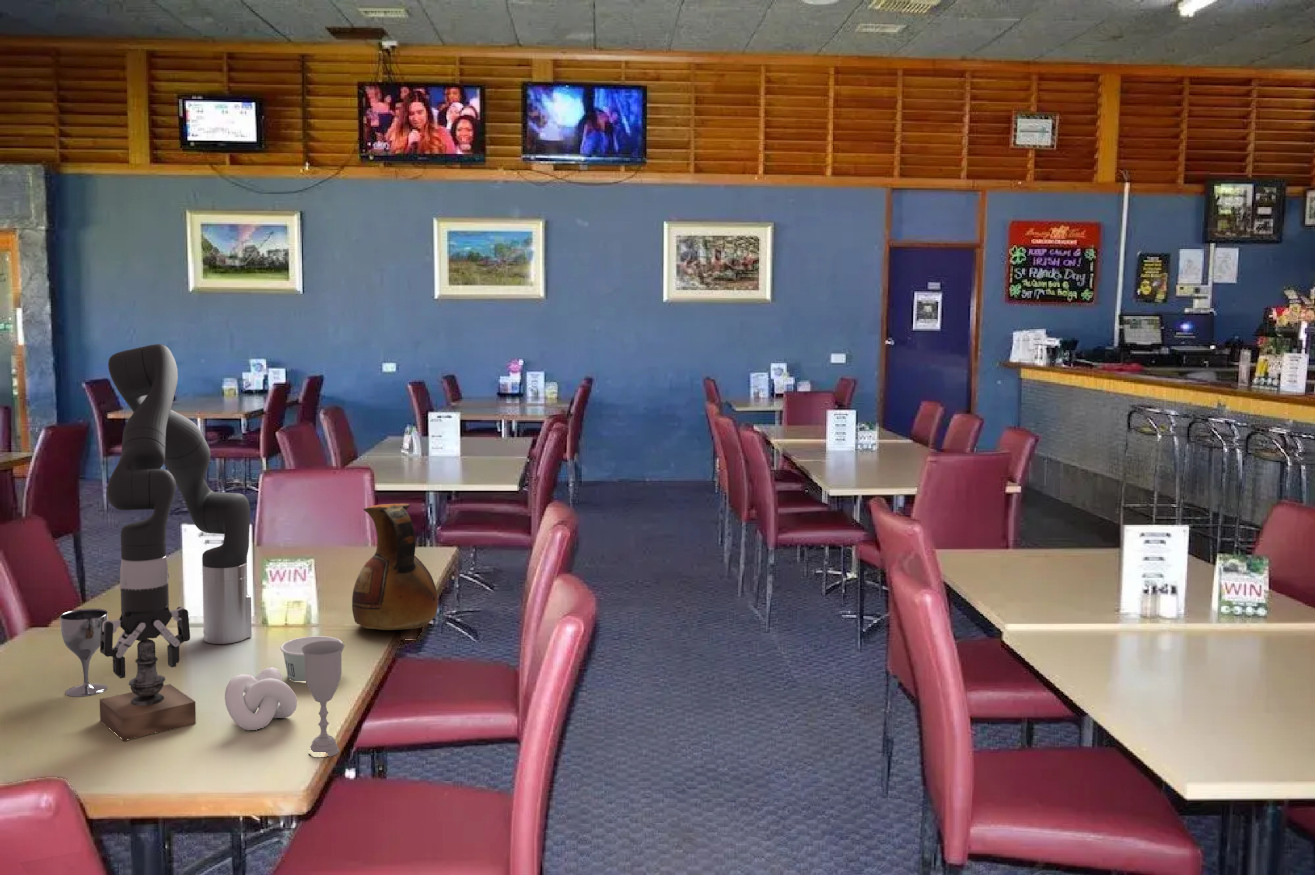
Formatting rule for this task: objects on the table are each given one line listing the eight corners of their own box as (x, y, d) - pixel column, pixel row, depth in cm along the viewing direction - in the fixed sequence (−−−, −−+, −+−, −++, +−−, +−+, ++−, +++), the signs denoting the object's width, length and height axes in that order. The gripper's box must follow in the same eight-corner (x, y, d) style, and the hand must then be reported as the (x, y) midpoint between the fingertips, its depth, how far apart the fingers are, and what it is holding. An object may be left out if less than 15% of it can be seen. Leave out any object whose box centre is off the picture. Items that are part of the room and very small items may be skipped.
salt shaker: (151, 708, 178) (149, 641, 176) (121, 704, 179) (119, 638, 177) (173, 695, 183) (171, 631, 182) (144, 692, 184) (142, 628, 183)
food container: (354, 676, 208) (354, 645, 207) (298, 690, 199) (298, 658, 198) (324, 662, 216) (324, 632, 215) (269, 675, 207) (269, 644, 206)
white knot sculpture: (250, 742, 174) (250, 691, 173) (207, 726, 180) (206, 677, 180) (305, 721, 184) (304, 673, 183) (262, 707, 190) (261, 660, 189)
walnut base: (170, 704, 190) (169, 684, 189) (195, 723, 181) (195, 701, 181) (100, 721, 181) (99, 699, 181) (123, 741, 173) (122, 718, 172)
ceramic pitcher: (411, 611, 255) (411, 493, 252) (453, 630, 240) (454, 505, 237) (337, 625, 242) (336, 501, 239) (377, 646, 227) (377, 514, 224)
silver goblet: (61, 700, 190) (58, 622, 189) (63, 686, 198) (61, 611, 196) (109, 694, 194) (107, 617, 193) (110, 680, 201) (108, 606, 200)
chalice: (308, 743, 174) (307, 640, 172) (349, 742, 175) (348, 640, 173) (297, 761, 167) (296, 654, 165) (339, 760, 168) (338, 654, 166)
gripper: (178, 572, 186) (180, 658, 188) (93, 584, 176) (96, 675, 178) (194, 580, 181) (196, 668, 183) (107, 593, 171) (110, 686, 173)
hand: (146, 671), depth 180 cm, fingers open, 8 cm apart
